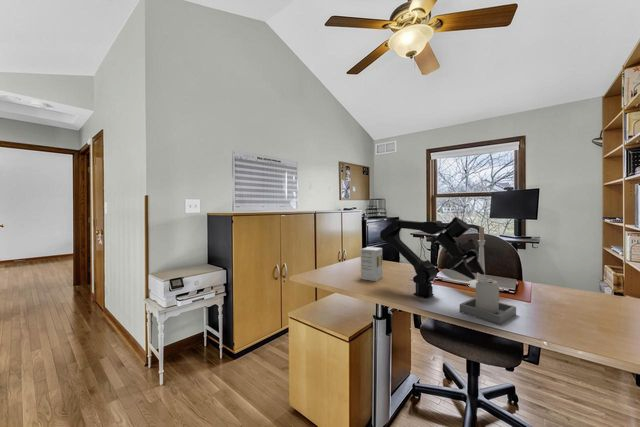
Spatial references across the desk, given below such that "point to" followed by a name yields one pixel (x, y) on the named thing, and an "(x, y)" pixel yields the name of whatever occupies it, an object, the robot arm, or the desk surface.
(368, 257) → the supplement box
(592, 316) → the desk surface
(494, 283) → the can
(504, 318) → the well tray
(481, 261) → the candlestick
